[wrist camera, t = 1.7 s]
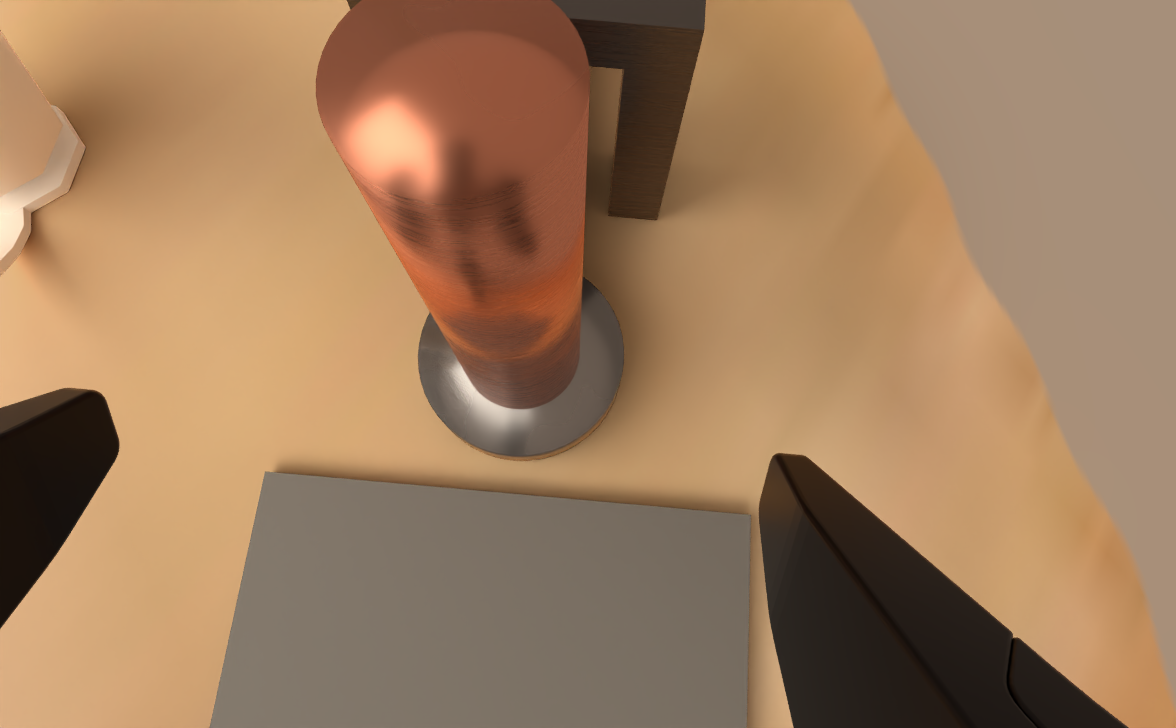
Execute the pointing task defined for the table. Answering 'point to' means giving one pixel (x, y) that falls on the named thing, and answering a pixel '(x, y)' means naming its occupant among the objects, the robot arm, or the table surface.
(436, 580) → the mat
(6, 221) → the cup
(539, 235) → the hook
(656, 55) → the brown square arch
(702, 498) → the table surface
